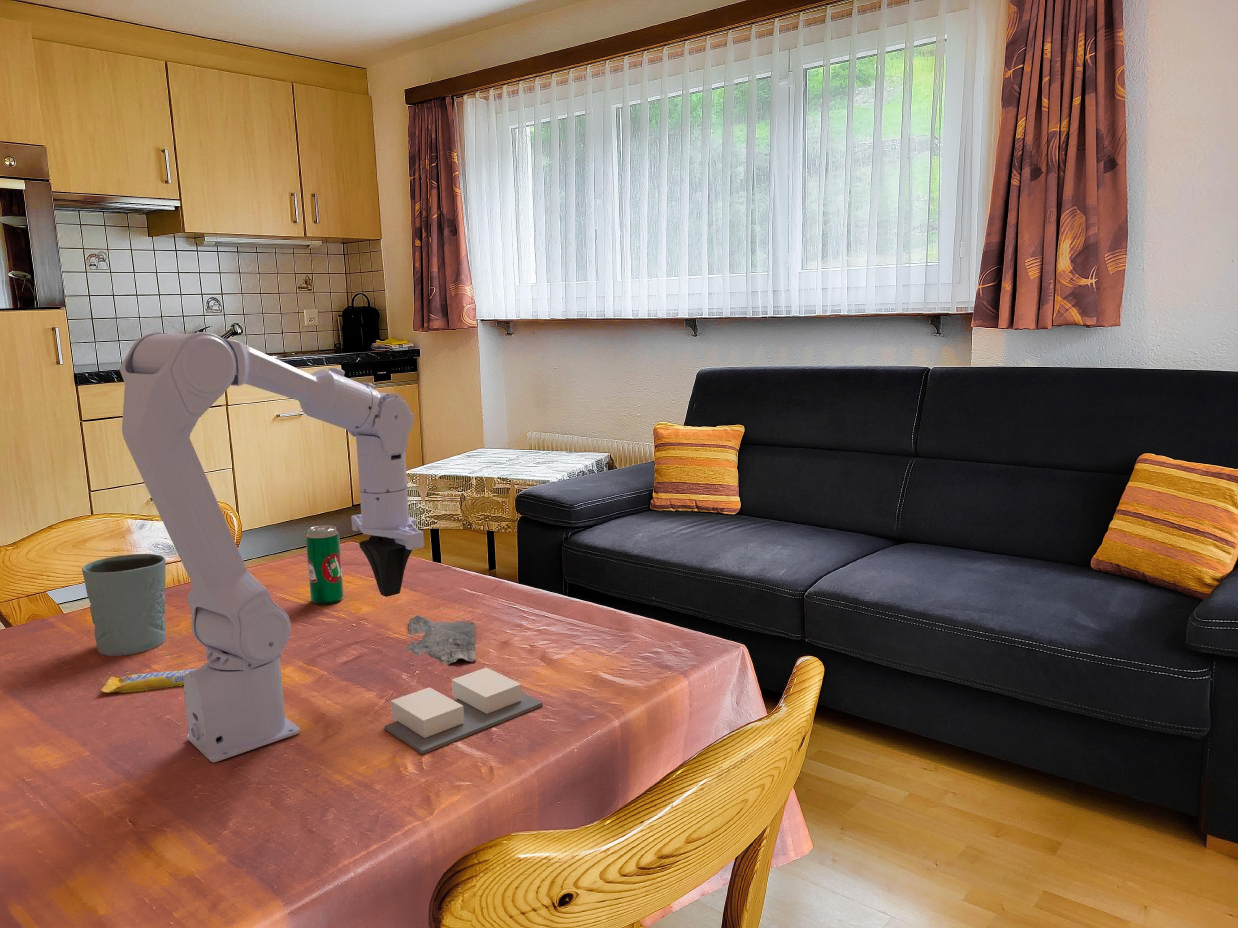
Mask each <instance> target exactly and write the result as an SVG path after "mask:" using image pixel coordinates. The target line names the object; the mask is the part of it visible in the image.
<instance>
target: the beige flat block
mask: <svg viewBox="0 0 1238 928" xmlns="http://www.w3.org/2000/svg"><path fill="white" fill-rule="evenodd" d="M454 700H455V699H452V698H450V697H448V696H446V695H445V694H443V693H441V692H439V691H437V690H435V689H433V688H432V687H426V688H423V689H421V690H417V691H415V692H412V693H409V694H406V695H403V696H400V697H398V698H395V699H392V700H390V711H391V718H392V719H394V720H395V721H398V722H400V723H402V724H403V725H405V726H406V727H408V728H410V729H411V730H413V731H414V732H416V733H418V734H419V735H421V736H422V737H424V738H427V737H430V736H432V735H435V734H437V733H440V732H442V731H445V730H448V729H450V728H453V727H455V726H458V725H460V724H462V723H464V710H463V705H461V704H459V703H457V702H455V701H454Z"/></svg>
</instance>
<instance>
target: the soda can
mask: <svg viewBox="0 0 1238 928" xmlns="http://www.w3.org/2000/svg"><path fill="white" fill-rule="evenodd" d="M305 544H306V545H305V547H306V558H307V567H308V568H307V569H308V570H307V572H308V582H309V584H308V585H309V593H310V594H309V596H310V600H311V602H312V603H314V604H316V605H321V606H322V605H331V604H335V603H338V602H340V601H341V600H342V599H343V597H344V585H343V581H344V580H343V569H342V556H341V555H342V554H341V541H340V533H339V531H338V530H337V527H336V525H335V526H334V525H327V524H325V525H317V526H312V527H310V528H308V529H307V534H306V535H305Z"/></svg>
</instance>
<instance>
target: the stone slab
mask: <svg viewBox="0 0 1238 928" xmlns="http://www.w3.org/2000/svg"><path fill="white" fill-rule="evenodd" d="M407 632H408V634H409V635H411V636H412V635H416V634H417V636H418V635H420V634H424V635H423V636H422V638H421V640H420V641H418V642H417V640H416V639H414V641H412V642H411V643H410V644H408V645H407V647H406V648H405V651H411V653H413V654H415V655H417V656H419V657H421V656H422V654H423V653H426V654H427V655H428V656H429V657H430V658H434V659H435V660H437V661H439V663H440V664H441V665H443V664H446V665H447V666H449V665H450V664H453V663H455V662H458V660H459V659H462V660H465V661H467V662H470V663H473V664H474V663H476V659H477V658H476V657H477V656H476V624H475V623H474V622H472V621H470V622H469V621H464V620H463V621H462V620H460V621H455V622H453V621H452V622H448V621H440V622H435V621H432V620H430V619H428V618H426V617H424V616H421V615H416V616H414V617H409V622H408V631H407ZM409 639H410V637H408V636H406V641H408V640H409ZM410 666H413V667H414V666H415V664H414V663H411V664H410Z"/></svg>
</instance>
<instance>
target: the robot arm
mask: <svg viewBox="0 0 1238 928" xmlns="http://www.w3.org/2000/svg"><path fill="white" fill-rule="evenodd" d="M118 369H119V372H120V374H121V377H122V379H123V383H124V390H123V391H124V392H123V407H122V424H121V433H122V436H123V440H124V442H125V444H126V446H127V449H128V451H129V453H130V455H131V457H132V459H133V461H134V464H135V465H136V468H137V470H138V472H139V474H140V476H141V478H142V481H143V483H144V485H145V487H146V489H147V491H148V493H149V496H150V498H151V500H152V502H153V504H154V506H155V508H156V510H157V513H158V515H159V517H160V519H161V521H162V523H163V525H164V527H165V529H166V532H167V534H168V535H169V538H170V541H171V542H172V544H173V547H174V548H175V551H176V553H177V556H178V557H179V559H180V561H181V563H182V565H183V567H184V569H185V572H186V574H187V576H188V578H189V580H190V583H191V585H192V587H193V588H192V589H191V590H190V591H189V593H188V595H187V596H186V601H187V603H188V605H189V608H190V613H191V621H190V627H191V632H192V635H193V637H194V638H195V640H196V642H198V643H200V644H201V645H202V646H205V647H204V650H205V657H206V660H207V661H206V663H205V664H203V665H202V666H200V667H198V668H195V669H196V670H194V671H191V672H189V673H187V674H186V675H185V678H184V686H183V690H184V691H183V692H184V693H183V695H184V701H185V711H186V721H187V729H188V730H187V731H188V733H187V735H186V737H187V739H188V742H190V743H191V744H192V745H193V746H194V747H196V748H197V749H198V751H199V752H200V753H201V754H203V756H205V758H206V759H208V760H209V761H210V762H211V763H217V762H220V761H222V760H226V759H229V758H231V757H235V756H237V755H240V754H243V753H246V752H249V751H251V750H255V749H257V748H261V747H264V746H266V745H269V744H272V743H275V742H278V741H281V740H284V739H287V738H289V737H292V736H295V735H298V734H299V733H301V728H300V727H299V726H298V725H296V724H295V723H294V722H293V721H291V720H290V719H288V717H286V714H285V713H286V712H285V700H284V692H283V691H284V689H283V680H282V679H283V678H282V667H281V666H282V665H281V658H282V657H283V656H282V652H283V651H284V649H285V648H286V646H287V644H288V642H289V640H290V638H291V637H290V636H291V633H292V632H291V629H292V624H291V620H290V619H291V618H290V616H289V614H288V613H287V611H286V610H285V609H284V608H283V607H281V606H280V605H278V604H277V603H276V602H275V601H274V600H273V599H272V597H271V595H270V592H269V590H268V589H267V588H266V587H265V585H263V584H262V583H261V582H260V581H259V580H258V579H257V578H256V577H255V575H252V573H251V572H250V571H249V570H248V568H247V567H246V564H245V562H244V559H243V558H242V555H241V553H240V550H239V548H238V546H237V544H236V541H235V539H234V537H233V535H232V532H231V529H230V528H229V525H228V523H227V520H226V519H225V516H224V514H223V512H222V509H221V506H220V505H219V502H218V499H217V498H216V495H215V494H214V491H213V489H212V486H211V485H210V481H209V479H208V477H207V475H206V472H205V471H204V467H203V466H202V463H201V461H200V459H199V456H198V454H197V451H196V449H195V447H194V445H193V443H192V441H191V434H192V432H193V430H194V428H195V427H196V425H197V422H198V421H199V419H200V418H201V417H202V416H203V415H204V414H205V413H206V412H207V411H208V410H209V409H210V408H211V407H212V406H213V405H214V404H215V403H216V402H217V401H218V400H219V399H220V397H222V396H223V395H224V394H225V392H227V391H228V389H230V387H231V386H233V387H239V386H243V385H248V386H251V387H254V388H257V389H260V390H263V391H267V392H269V393H273V394H276V395H280V396H283V397H285V398H288V399H293V400H295V401H298V403H299V405H300V408H301V410H302V412H303V413H304V414H305V415H306V416H308V417H309V418H312V419H316V420H319V421H321V422H323V423H327V424H330V425H333V426H336V427H338V428H341V429H344V430H346V431H347V432H348V433H349V434H350V436H352V437H353V438H355V442H356V456H357V458H356V459H357V469H358V483H359V484H358V485H359V503H360V514H354V515H351V518H350V519H351V531H354V532H359V531H360V532H361V533H362V534H363V535H367V536H369V537H368V539H365V540H362V541H360V542H359V544H358V545H359V548H360V549H361V551H362V553H364V556H365V557H366V559H367V561H368V563H369V565H370V567H371V570H372V573H373V576H374V579H375V583H376V585H377V588H378V591H379V594H380V596H382V597H385V598H389V597H392V596H396V595H400V593H401V589H402V587H403V586H402V584H403V581H404V574H405V570H406V566H407V563H408V560H409V558H410V556H411V553H412V552H413V550H416V549H420V548H424V547H425V538H424V536H425V535H424V531H423V530H419V529H418V528H417V527H416V525H417V524H418V519H417V518H415V517H412V516H411V517H410V515H409V514H410V512H409V498H408V495H409V493H408V479H407V478H408V477H407V466H406V465H407V464H406V461H407V459H406V452H407V448H409V445H408V437H409V435H410V432H411V431H412V428H413V425H414V422H415V421H414V419H415V415H414V413H412V412H411V409H410V406H409V404H408V403H407V402H406V401H405V399H404V398H403V397H402V396H401V395H399V394H398V393H397V394H396V393H391V392H389V393H388V392H379V391H378V390H377V389H376V385H375V384H372V383H371V382H363V383H360V382H358V381H355V380H353V379H351V378H349V377H346V376H345V374H346V373H345V372H346V371H345V370H343V369H341V368H338V367H329V368H328V369H326V368H321V369H318V370H317V369H316V370H315V371H314V372H311V373H308V372H306V371H303V370H301V369H299V368H296V367H295V366H292V365H290V364H289V363H287V362H284V361H281V360H280V359H278V358H276V357H273V356H270V355H269V354H266V353H264V352H262V351H259V350H257V349H255V348H253V347H251V346H249V345H246V344H244V343H243V342H240V341H238V340H235V339H229V338H222V337H220V336H219V335H216V334H215V333H212V332H207V331H206V332H203V331H201V332H200V331H199V332H195V333H166V332H149V333H147V334H145V335H142V336H141V337H139V338H138V339H137V340H135V342H134V343H133V344H132V346H131V347H130V348H129V350H128V352H127V354H126V356H125V358H124V359H123V361H122V363H121V364H120V366H119V367H118Z"/></svg>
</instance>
